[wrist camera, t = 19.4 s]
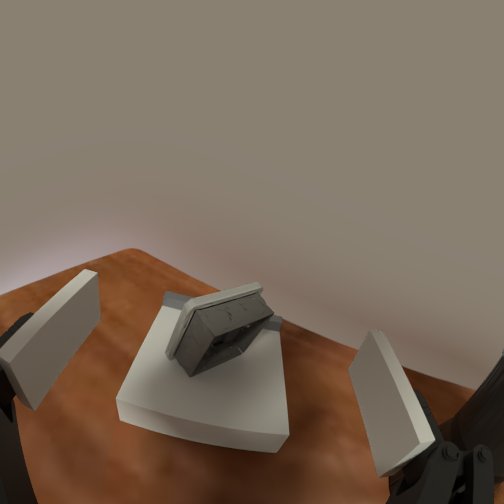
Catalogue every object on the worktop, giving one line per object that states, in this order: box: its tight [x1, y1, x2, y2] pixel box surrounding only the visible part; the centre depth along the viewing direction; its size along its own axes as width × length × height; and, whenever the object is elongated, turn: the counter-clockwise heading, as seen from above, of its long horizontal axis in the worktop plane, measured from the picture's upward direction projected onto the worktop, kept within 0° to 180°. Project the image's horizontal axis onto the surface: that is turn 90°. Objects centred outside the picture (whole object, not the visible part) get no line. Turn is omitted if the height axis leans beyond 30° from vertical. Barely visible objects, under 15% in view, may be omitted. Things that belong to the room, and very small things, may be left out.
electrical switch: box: [165, 282, 274, 377], centre depth 27 cm, size 9×5×9 cm, turn 135°
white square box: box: [116, 291, 290, 453], centre depth 30 cm, size 16×18×6 cm
